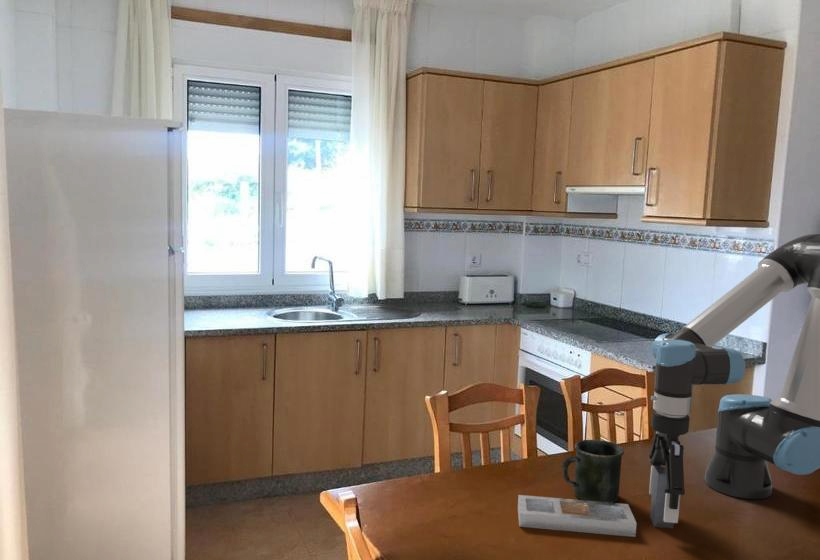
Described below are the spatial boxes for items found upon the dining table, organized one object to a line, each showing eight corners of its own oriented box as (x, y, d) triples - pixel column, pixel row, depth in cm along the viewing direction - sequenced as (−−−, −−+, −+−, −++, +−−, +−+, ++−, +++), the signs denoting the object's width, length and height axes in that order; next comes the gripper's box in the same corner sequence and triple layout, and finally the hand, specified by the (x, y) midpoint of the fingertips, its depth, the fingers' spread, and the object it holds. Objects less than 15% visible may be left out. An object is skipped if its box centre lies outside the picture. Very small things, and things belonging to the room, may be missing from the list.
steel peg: (668, 519, 150) (673, 467, 149) (673, 528, 146) (677, 475, 145) (649, 518, 151) (654, 466, 149) (654, 526, 147) (658, 473, 145)
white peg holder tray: (627, 517, 151) (628, 504, 150) (635, 537, 142) (636, 523, 142) (517, 507, 153) (518, 494, 153) (519, 526, 145) (520, 513, 144)
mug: (629, 504, 157) (633, 454, 156) (572, 509, 153) (575, 458, 152) (605, 484, 167) (608, 438, 166) (550, 489, 164) (553, 441, 162)
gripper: (640, 394, 158) (633, 482, 161) (667, 430, 134) (658, 533, 136) (673, 396, 157) (666, 485, 160) (707, 433, 133) (697, 536, 135)
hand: (662, 507), depth 148 cm, fingers open, 12 cm apart
